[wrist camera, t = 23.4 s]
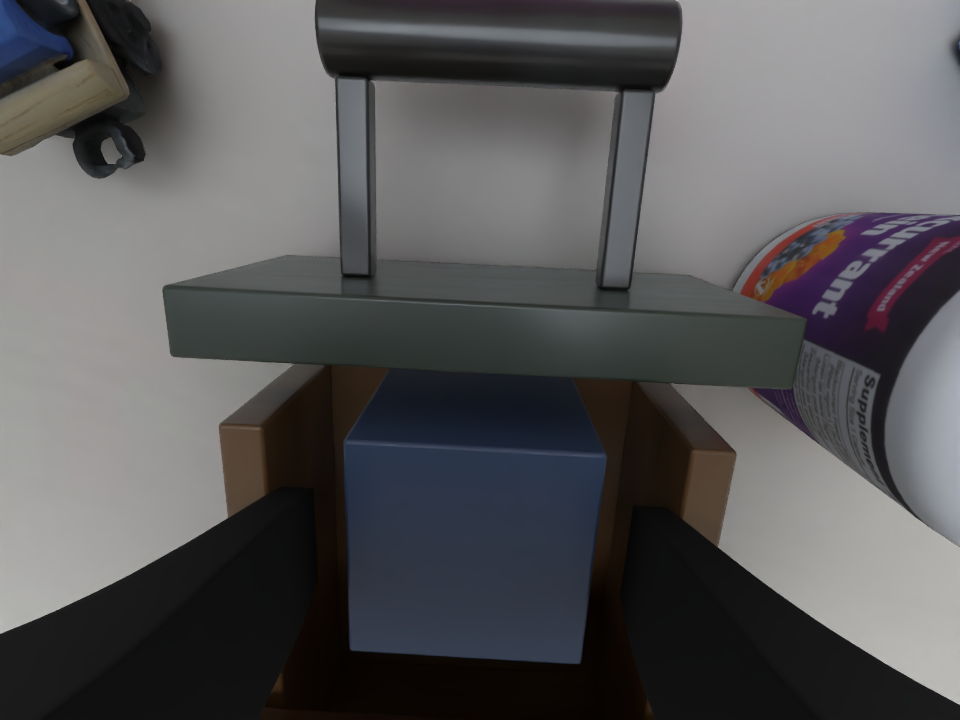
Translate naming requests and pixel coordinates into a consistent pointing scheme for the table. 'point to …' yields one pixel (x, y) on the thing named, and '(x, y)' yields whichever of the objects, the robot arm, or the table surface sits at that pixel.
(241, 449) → the drawer
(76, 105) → the toy train
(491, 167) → the table surface
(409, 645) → the block
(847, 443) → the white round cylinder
